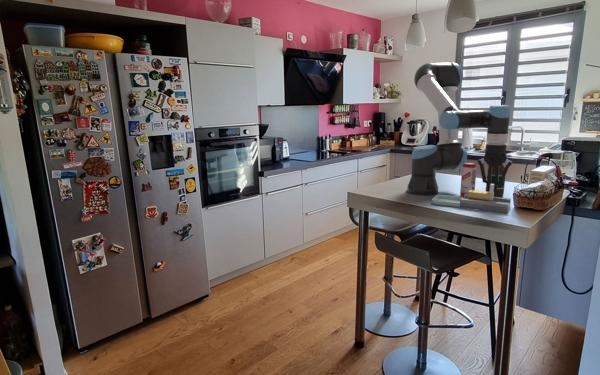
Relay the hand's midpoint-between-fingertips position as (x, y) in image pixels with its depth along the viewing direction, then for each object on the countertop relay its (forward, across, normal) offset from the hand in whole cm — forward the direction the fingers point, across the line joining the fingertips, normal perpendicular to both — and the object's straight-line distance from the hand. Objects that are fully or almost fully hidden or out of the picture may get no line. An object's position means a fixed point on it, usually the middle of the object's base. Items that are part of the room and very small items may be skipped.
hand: (491, 199), depth 153 cm
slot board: (+4, -2, 0) cm, 4 cm away
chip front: (+1, -3, 0) cm, 3 cm away
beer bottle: (+4, -1, +22) cm, 22 cm away
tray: (+4, -17, 0) cm, 18 cm away
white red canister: (+4, -12, +17) cm, 21 cm away
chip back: (+1, -7, 0) cm, 7 cm away
